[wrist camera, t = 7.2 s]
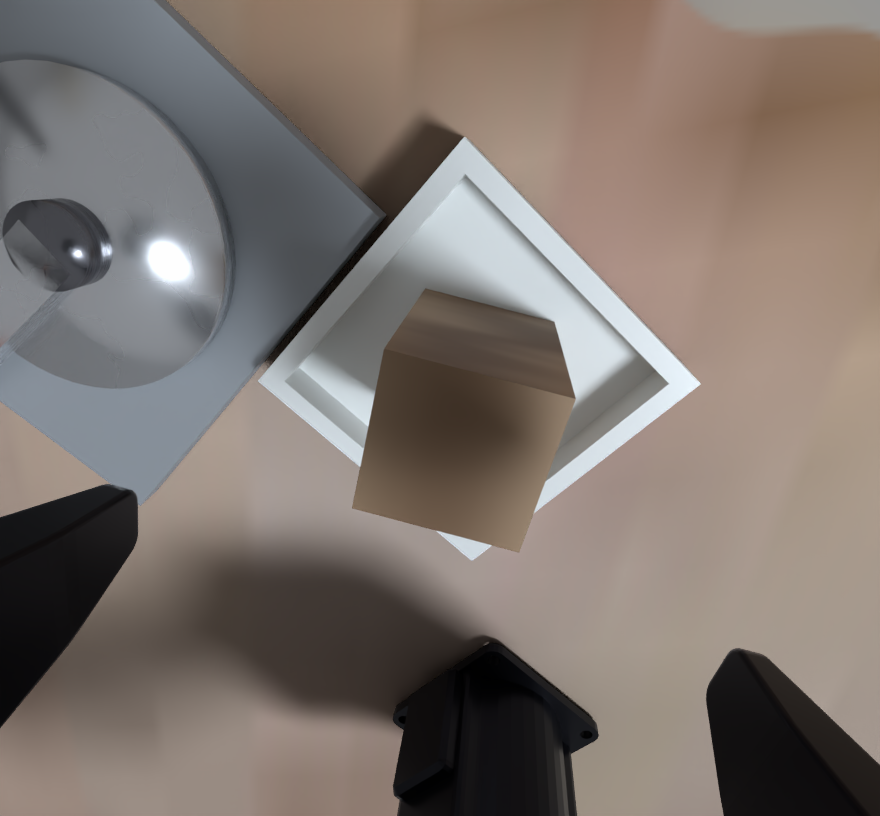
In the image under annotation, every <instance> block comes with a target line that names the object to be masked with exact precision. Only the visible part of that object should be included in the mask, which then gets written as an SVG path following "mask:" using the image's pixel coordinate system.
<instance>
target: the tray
mask: <svg viewBox="0 0 880 816" xmlns="http://www.w3.org/2000/svg"><path fill="white" fill-rule="evenodd" d="M425 288H426V289H430V290H434V291H438V292H442V293H446V294H449V295H453V296H457V297H461V298H465V299H469V300H472V301H476V302H480V303H484V304H488V305H492V306H495V307H499V308H503V309H507V310H511V311H515V312H518V313H522V314H526V315H530V316H534V317H538V318H541V319H545V320H549V321H553V322H555V326H556V329H557V333H558V336H559V340H560V344H561V347H562V351H563V354H564V358H565V361H566V365H567V369H568V372H569V376H570V379H571V383H572V387H573V390H574V394H575V397H576V400H575V403H574V406H573V408H572V411H571V414H570V416H569V419H568V422H567V424H566V427H565V430H564V433H563V435H562V438H561V441H560V443H559V446H558V449H557V451H556V454H555V457H554V460H553V462H552V465H551V468H550V470H549V473H548V476H547V478H546V481H545V484H544V487H543V489H542V492H541V495H540V497H539V500H538V503H537V505H536V508H535V511H534V513H535V512H536V511H537V510H538V509H540V508H541V507H542V506H544V505H545V504H546V503H548V502H549V501H550V500H551V499H553V498H554V497H555V496H557V495H558V494H559V493H560V492H562V491H563V490H564V489H566V488H567V487H568V486H570V485H571V484H572V483H573V482H575V481H576V480H577V479H579V478H580V477H581V476H582V475H584V474H585V473H586V472H588V471H589V470H590V469H591V468H593V467H594V466H595V465H597V464H598V463H599V462H601V461H602V460H603V459H604V458H606V457H607V456H608V455H610V454H611V453H612V452H613V451H615V450H616V449H617V448H619V447H620V446H621V445H623V444H624V443H625V442H626V441H628V440H629V439H630V438H632V437H633V436H634V435H635V434H637V433H638V432H639V431H641V430H642V429H643V428H645V427H646V426H647V425H648V424H650V423H651V422H652V421H654V420H655V419H656V418H657V417H659V416H660V415H661V414H663V413H664V412H665V411H667V410H668V409H669V408H670V407H672V406H673V405H674V404H676V403H677V402H678V401H679V400H681V399H682V398H683V397H685V396H686V395H687V394H688V393H690V392H691V391H692V390H694V389H695V388H696V387H698V386H699V385H700V382H699V381H698V380H697V379H696V378H695V377H694V376H693V374H692V373H691V372H690V371H689V370H688V369H687V367H686V366H685V365H684V364H683V363H682V362H681V361H680V360H679V359H678V358H677V357H676V356H675V354H674V353H673V352H672V351H671V350H670V349H669V348H668V347H667V346H666V345H665V344H664V343H663V342H662V341H661V340H660V339H659V338H658V337H657V336H656V335H655V334H654V332H653V331H652V330H651V329H650V328H649V327H648V326H647V325H646V324H645V323H644V322H643V321H642V320H641V319H640V318H639V317H638V316H637V315H636V314H635V313H634V312H633V311H632V309H631V308H630V307H629V306H628V305H627V304H626V303H625V302H624V301H623V300H622V299H621V298H620V297H619V296H618V295H617V294H616V293H615V292H614V291H613V290H612V289H611V287H610V286H609V285H608V284H607V283H606V282H605V281H604V280H603V279H602V278H601V277H600V276H599V275H598V274H597V273H596V272H595V271H594V270H593V269H592V268H591V267H590V266H589V264H588V263H587V262H586V261H585V260H584V259H583V258H582V257H581V256H580V255H579V254H578V253H577V252H576V251H575V250H574V249H573V248H572V247H571V246H570V245H569V244H568V242H567V241H566V240H565V239H564V238H563V237H562V236H561V235H560V234H559V233H558V232H557V231H556V230H555V229H554V228H553V227H552V226H551V225H550V224H549V223H548V222H547V221H546V219H545V218H544V217H543V216H542V215H541V214H540V213H539V212H538V211H537V210H536V209H535V208H534V207H533V206H532V205H531V204H530V203H529V202H528V201H527V200H526V199H525V197H524V196H523V195H522V194H521V193H520V192H519V191H518V190H517V189H516V188H515V187H514V186H513V185H512V184H511V183H510V182H509V181H508V180H507V179H506V178H505V177H504V175H503V174H502V173H501V172H500V171H499V170H498V169H497V168H496V167H495V166H494V165H493V164H492V163H491V162H490V161H489V160H488V159H487V158H486V157H485V156H484V155H483V154H482V152H481V151H480V150H479V149H478V148H477V147H476V146H475V145H474V144H473V143H472V142H471V141H470V140H469V139H467V138H466V137H464V138H463V139H462V140H461V141H460V142H459V144H458V145H457V146H456V147H455V148H454V150H453V151H452V152H451V153H450V154H449V155H448V157H447V158H446V159H445V160H444V161H443V163H442V164H441V165H440V166H439V167H438V168H437V170H436V171H435V172H434V173H433V174H432V176H431V177H430V178H429V179H428V180H427V181H426V183H425V184H424V185H423V186H422V187H421V189H420V190H419V191H418V192H417V193H416V195H415V196H414V197H413V198H412V199H411V200H410V202H409V203H408V204H407V205H406V206H405V208H404V209H403V210H402V211H401V212H400V213H399V215H398V216H397V217H396V218H395V219H394V221H393V222H392V223H391V224H390V225H389V226H388V228H387V229H386V230H385V231H384V232H383V234H382V235H381V236H380V237H379V238H378V239H377V241H376V242H375V243H374V244H373V245H372V247H371V248H370V249H369V250H368V251H367V253H366V254H365V255H364V256H363V257H362V258H361V260H360V261H359V262H358V263H357V264H356V266H355V267H354V268H353V269H352V270H351V271H350V273H349V274H348V275H347V276H346V277H345V279H344V280H343V281H342V282H341V283H340V284H339V286H338V287H337V288H336V289H335V290H334V292H333V293H332V294H331V295H330V296H329V298H328V299H327V300H326V301H325V302H324V303H323V305H322V306H321V307H320V308H319V309H318V311H317V312H316V313H315V314H314V315H313V316H312V318H311V319H310V320H309V321H308V322H307V324H306V325H305V326H304V327H303V328H302V329H301V331H300V332H299V333H298V334H297V335H296V337H295V338H294V339H293V340H292V341H291V342H290V344H289V345H288V346H287V347H286V348H285V350H284V351H283V352H282V353H281V354H280V356H279V357H278V358H277V359H276V360H275V361H274V363H273V364H272V365H271V366H270V367H269V369H268V370H267V371H266V372H265V373H264V374H263V376H262V377H261V378H260V379H259V380H258V382H260V383H261V384H262V385H263V386H264V387H266V388H267V389H268V390H269V391H270V392H271V393H273V394H274V395H275V396H276V397H277V398H279V399H280V400H281V401H282V402H283V403H285V404H286V405H287V406H288V407H289V408H290V409H292V410H293V411H294V412H295V413H296V414H298V415H299V416H300V417H301V418H302V419H304V420H305V421H306V422H307V423H308V424H310V425H311V426H312V427H313V428H314V429H315V430H317V431H318V432H319V433H320V434H321V435H323V436H324V437H325V438H326V439H327V440H329V441H330V442H331V443H332V444H333V445H335V446H336V447H337V448H338V449H339V450H340V451H342V452H343V453H344V454H345V455H346V456H348V457H349V458H350V459H351V460H352V461H354V462H355V463H356V464H357V465H358V466H359V467H360V466H361V461H362V456H363V451H364V446H365V441H366V436H367V431H368V426H369V421H370V416H371V411H372V406H373V401H374V396H375V391H376V386H377V381H378V376H379V371H380V366H381V361H382V356H383V351H384V348H385V346H386V345H387V343H388V342H389V341H390V339H391V338H392V336H393V335H394V333H395V332H396V330H397V329H398V327H399V326H400V325H401V323H402V322H403V320H404V319H405V317H406V316H407V314H408V313H409V311H410V310H411V308H412V307H413V306H414V304H415V303H416V301H417V300H418V298H419V297H420V295H421V294H422V292H423V291H424V290H425ZM437 532H438V533H439V534H440V535H442V536H443V537H444V538H445V539H446V540H448V541H449V542H450V543H451V544H452V545H453V546H455V547H456V548H457V549H458V550H459V551H461V552H462V553H463V554H464V555H465V556H467V557H468V558H469V559H470V560H471V561H473V560H474V559H475V558H476V557H478V556H479V555H480V554H482V553H483V552H484V551H485V550H487V549H488V548H489V547H491V546H492V545H489V544H485V543H481V542H477V541H474V540H470V539H466V538H462V537H459V536H455V535H451V534H447V533H444V532H440V531H437Z"/></svg>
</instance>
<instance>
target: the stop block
mask: <svg viewBox="0 0 880 816" xmlns="http://www.w3.org/2000/svg"><path fill="white" fill-rule="evenodd" d="M575 400H576V397H575V394H574V390H573V387H572V383H571V379H570V376H569V372H568V369H567V365H566V361H565V358H564V354H563V351H562V347H561V344H560V340H559V336H558V333H557V329H556V326H555V322H553V321H549V320H545V319H541V318H538V317H534V316H530V315H526V314H522V313H518V312H515V311H511V310H507V309H503V308H499V307H495V306H492V305H488V304H484V303H480V302H476V301H472V300H469V299H465V298H461V297H457V296H453V295H449V294H446V293H442V292H438V291H434V290H430V289H426V288H425V290H424V291H423V292H422V294H421V295H420V297H419V298H418V300H417V301H416V303H415V304H414V306H413V307H412V308H411V310H410V311H409V313H408V314H407V316H406V317H405V319H404V320H403V322H402V323H401V325H400V326H399V327H398V329H397V330H396V332H395V333H394V335H393V336H392V338H391V339H390V341H389V342H388V343H387V345H386V346H385V348H384V351H383V356H382V361H381V366H380V371H379V376H378V381H377V386H376V391H375V396H374V401H373V406H372V411H371V416H370V421H369V426H368V431H367V436H366V441H365V446H364V451H363V456H362V461H361V466H360V471H359V476H358V481H357V486H356V491H355V496H354V501H353V506H352V508H353V509H357V510H361V511H365V512H368V513H372V514H376V515H380V516H383V517H387V518H391V519H395V520H398V521H402V522H406V523H410V524H413V525H417V526H421V527H425V528H429V529H432V530H436V531H440V532H444V533H447V534H451V535H455V536H459V537H462V538H466V539H470V540H474V541H477V542H481V543H485V544H489V545H493V546H496V547H500V548H504V549H508V550H511V551H515V552H519V551H520V549H521V546H522V543H523V541H524V538H525V535H526V532H527V530H528V527H529V524H530V522H531V519H532V516H533V514H534V511H535V508H536V505H537V503H538V500H539V497H540V495H541V492H542V489H543V487H544V484H545V481H546V478H547V476H548V473H549V470H550V468H551V465H552V462H553V460H554V457H555V454H556V451H557V449H558V446H559V443H560V441H561V438H562V435H563V433H564V430H565V427H566V424H567V422H568V419H569V416H570V414H571V411H572V408H573V406H574V403H575Z"/></svg>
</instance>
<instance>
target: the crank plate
mask: <svg viewBox="0 0 880 816" xmlns="http://www.w3.org/2000/svg"><path fill="white" fill-rule="evenodd" d="M25 59H27V60H41V61H50V62H54V63H59V64H63V65H68V66H72V67H77V68H81V69H86V70H90V71H93V72H96V73H99V74H101V75H104V76H106V77H109V78H112V79H114V80H116V81H118V82H119V83H121V84H123V85H125V86H127V87H129V88H131V89H132V90H134V91H135V92H137V93H138V94H140V95H141V96H143V97H144V98H145V99H147V100H148V101H150V102H151V103H153V104H154V105H155V106H156V107H157V108H158V109H159V110H160V111H162V112H163V113H164V114H165V115H166V116H167V117H168V118H170V119H171V120H172V121H173V123H174V124H175V125H176V126H177V127H178V128H179V129H180V130H181V131H182V133H183V134H184V135H185V136H186V137H187V138H188V139H189V141H190V142H191V144H192V145H193V146H194V148H195V149H196V150H197V152H198V153H199V155H200V156H201V157H202V159H203V161H204V162H205V164H206V166H207V168H208V169H209V171H210V173H211V175H212V176H213V178H214V180H215V182H216V185H217V187H218V189H219V191H220V194H221V196H222V198H223V201H224V204H225V207H226V210H227V213H228V216H229V219H230V223H231V228H232V233H233V238H234V245H235V258H236V272H235V285H234V291H233V296H232V301H231V304H230V307H229V310H228V313H227V316H226V319H225V321H224V323H223V325H222V327H221V329H220V330H219V332H218V334H217V335H216V337H215V338H214V339H213V341H212V342H211V343H210V345H209V346H208V347H207V348H206V349H205V350H204V351H203V352H202V353H201V354H200V355H199V356H198V357H197V358H195V359H194V360H192V361H191V362H190V363H188V364H187V365H185V366H184V367H182V368H181V369H179V370H177V371H176V372H174V373H172V374H171V375H169V376H167V377H165V378H163V379H161V380H159V381H156V382H153V383H150V384H146V385H143V386H138V387H131V388H119V389H107V388H99V387H91V386H86V385H82V384H78V383H74V382H71V381H68V380H65V379H63V378H60V377H57V376H55V375H53V374H51V373H48V372H46V371H44V370H42V369H40V368H38V367H37V366H35V365H33V364H32V363H30V362H28V361H27V360H25V359H23V358H22V357H20V356H19V355H18V354H16V353H15V352H13V353H12V354H11V355H10V356H9V357H8V358H7V359H6V360H5V361H4V362H3V363H2V364H1V365H0V401H1V402H2V403H3V404H5V405H6V406H7V407H9V408H10V409H11V410H13V411H14V412H15V413H17V414H18V415H19V416H21V417H22V418H23V419H25V420H26V421H27V422H29V423H30V424H31V425H33V426H34V427H35V428H37V429H38V430H39V431H41V432H42V433H43V434H45V435H46V436H47V437H49V438H50V439H51V440H53V441H54V442H55V443H57V444H58V445H59V446H61V447H62V448H64V449H65V450H66V451H68V452H69V453H70V454H72V455H73V456H74V457H76V458H77V459H78V460H80V461H81V462H82V463H84V464H85V465H86V466H88V467H89V468H90V469H92V470H93V471H94V472H96V473H97V474H98V475H100V476H101V477H102V478H104V479H105V480H106V481H108V482H109V483H110V484H112V485H115V486H119V487H123V488H127V489H131V490H133V491H134V492H135V493H136V495H137V499H138V504H139V505H140V506H141V505H142V504H143V503H144V502H145V501H146V500H147V499H148V498H149V497H151V496H152V495H153V494H154V493H155V492H156V491H157V490H158V488H159V487H160V486H161V485H162V484H163V482H164V481H165V480H166V479H167V478H168V476H169V475H170V474H171V473H172V472H173V470H174V469H175V468H176V467H177V466H178V464H179V463H180V462H181V461H182V460H183V458H184V457H185V456H186V455H187V454H188V453H189V451H190V450H191V449H192V448H193V447H194V445H195V444H196V443H197V442H198V441H199V439H200V438H201V437H202V436H203V435H204V433H205V432H206V431H207V430H208V429H209V427H210V426H211V425H212V424H213V423H214V421H215V420H216V419H217V418H218V417H219V415H220V414H221V413H222V412H223V411H224V409H225V408H226V407H227V406H228V405H229V403H230V402H231V401H232V400H233V399H234V397H235V396H236V395H237V394H238V393H239V391H240V390H241V389H242V388H243V387H244V385H245V384H246V383H247V382H248V381H249V379H250V378H251V377H252V376H253V375H254V373H255V372H256V371H257V370H258V369H259V367H260V366H261V365H262V364H263V363H264V361H265V360H266V359H267V358H268V357H269V355H270V354H271V353H272V352H273V351H274V349H275V348H276V347H277V346H278V345H279V343H280V342H281V341H282V340H283V339H284V338H285V336H286V335H287V334H288V333H289V332H290V330H291V329H292V328H293V327H294V326H295V324H296V323H297V322H298V321H299V320H300V318H301V317H302V316H303V315H304V314H305V312H306V311H307V310H308V309H309V308H310V306H311V305H312V304H313V303H314V302H315V300H316V299H317V298H318V297H319V296H320V294H321V293H322V292H323V291H324V290H325V288H326V287H327V286H328V285H329V284H330V282H331V281H332V280H333V279H334V278H335V276H336V275H337V274H338V273H339V272H340V270H341V269H342V268H343V267H344V266H345V264H346V263H347V262H348V261H349V260H350V258H351V257H352V256H353V255H354V254H355V252H356V251H357V250H358V249H359V248H360V246H361V245H362V244H363V243H364V242H365V240H366V239H367V238H368V237H369V236H370V234H371V233H372V232H373V231H374V230H375V229H376V227H377V226H378V225H379V224H380V223H381V221H382V220H383V219H384V218H385V217H386V214H385V213H384V212H383V211H382V210H381V209H380V208H379V207H378V206H377V205H376V204H375V203H374V202H373V201H372V200H371V199H370V198H369V197H368V196H367V195H366V194H365V193H364V192H363V191H361V190H360V189H359V188H358V187H357V186H356V185H355V184H354V183H353V182H352V181H351V180H350V179H349V178H348V177H347V176H346V175H345V174H344V173H343V172H342V171H341V170H340V169H339V168H338V167H337V166H336V165H335V164H334V163H333V162H332V161H331V160H330V159H329V158H327V157H326V156H325V155H324V154H323V153H322V152H321V151H320V150H319V149H318V148H317V147H316V146H315V145H314V144H313V143H312V142H311V141H310V140H309V139H308V138H307V137H306V136H305V135H304V134H303V133H302V132H301V131H300V130H299V129H298V128H297V127H296V126H295V125H293V124H292V123H291V122H290V121H289V120H288V119H287V118H286V117H285V116H284V115H283V114H282V113H281V112H280V111H279V110H278V109H277V108H276V107H275V106H274V105H273V104H272V103H271V102H270V101H269V100H268V99H267V98H266V97H265V96H264V95H263V94H262V93H260V92H259V91H258V90H257V89H256V88H255V87H254V86H253V85H252V84H251V83H250V82H249V81H248V80H247V79H246V78H245V77H244V76H243V75H242V74H241V73H240V72H239V71H238V70H237V69H236V68H235V67H234V66H233V65H232V64H231V63H230V62H229V61H228V60H226V59H225V58H224V57H223V56H222V55H221V54H220V53H219V52H218V51H217V50H216V49H215V48H214V47H213V46H212V45H211V44H210V43H209V42H208V41H207V40H206V39H205V38H204V37H203V36H202V35H201V34H200V33H199V32H198V31H197V30H196V29H195V28H194V27H192V26H191V25H190V24H189V23H188V22H187V21H186V20H185V19H184V18H183V17H182V16H181V15H180V14H179V13H178V12H177V11H176V10H175V9H174V8H173V7H172V6H171V5H170V4H169V3H168V2H167V1H166V0H0V63H1V62H5V61H15V60H25Z"/></svg>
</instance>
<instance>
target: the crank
mask: <svg viewBox="0 0 880 816" xmlns="http://www.w3.org/2000/svg"><path fill="white" fill-rule="evenodd" d="M235 272H236V258H235V245H234V238H233V233H232V228H231V223H230V219H229V216H228V213H227V210H226V207H225V204H224V201H223V198H222V196H221V194H220V191H219V189H218V187H217V185H216V182H215V180H214V178H213V176H212V175H211V173H210V171H209V169H208V168H207V166H206V164H205V162H204V161H203V159H202V157H201V156H200V155H199V153H198V152H197V150H196V149H195V148H194V146H193V145H192V144H191V142H190V141H189V139H188V138H187V137H186V136H185V135H184V134H183V133H182V131H181V130H180V129H179V128H178V127H177V126H176V125H175V124H174V123H173V121H172V120H171V119H170V118H168V117H167V116H166V115H165V114H164V113H163V112H162V111H160V110H159V109H158V108H157V107H156V106H155V105H154V104H153V103H151V102H150V101H148V100H147V99H145V98H144V97H143V96H141V95H140V94H138V93H137V92H135V91H134V90H132V89H131V88H129V87H127V86H125V85H123V84H121V83H119V82H118V81H116V80H114V79H112V78H109V77H106V76H104V75H101V74H99V73H96V72H93V71H90V70H86V69H81V68H77V67H72V66H68V65H63V64H59V63H54V62H50V61H41V60H27V59H25V60H15V61H5V62H1V63H0V365H1V364H2V363H3V362H4V361H5V360H6V359H7V358H8V357H9V356H10V355H11V354H12V353H13V352H15V353H16V354H18V355H19V356H20V357H22V358H23V359H25V360H27V361H28V362H30V363H32V364H33V365H35V366H37V367H38V368H40V369H42V370H44V371H46V372H48V373H51V374H53V375H55V376H57V377H60V378H63V379H65V380H68V381H71V382H74V383H78V384H82V385H86V386H91V387H99V388H107V389H119V388H131V387H138V386H143V385H146V384H150V383H153V382H156V381H159V380H161V379H163V378H165V377H167V376H169V375H171V374H172V373H174V372H176V371H177V370H179V369H181V368H182V367H184V366H185V365H187V364H188V363H190V362H191V361H192V360H194V359H195V358H197V357H198V356H199V355H200V354H201V353H202V352H203V351H204V350H205V349H206V348H207V347H208V346H209V345H210V343H211V342H212V341H213V339H214V338H215V337H216V335H217V334H218V332H219V330H220V329H221V327H222V325H223V323H224V321H225V319H226V316H227V313H228V310H229V307H230V304H231V301H232V296H233V291H234V285H235Z"/></svg>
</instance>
